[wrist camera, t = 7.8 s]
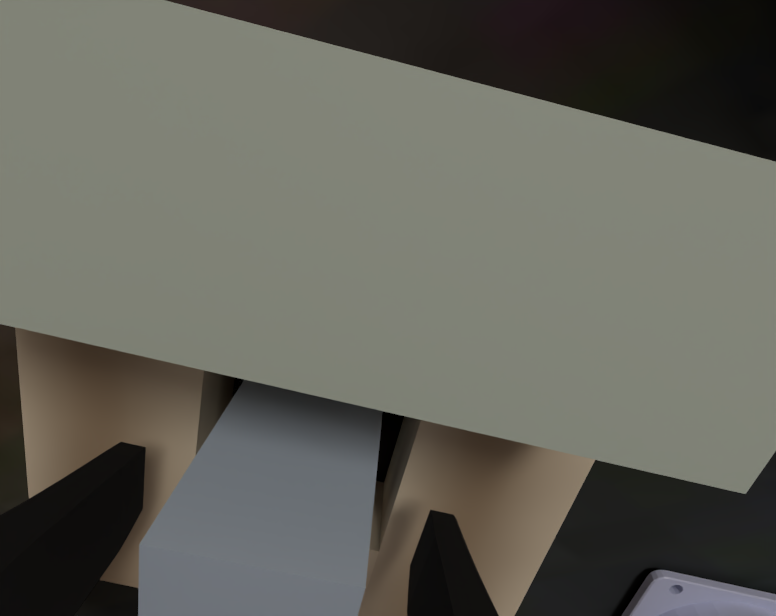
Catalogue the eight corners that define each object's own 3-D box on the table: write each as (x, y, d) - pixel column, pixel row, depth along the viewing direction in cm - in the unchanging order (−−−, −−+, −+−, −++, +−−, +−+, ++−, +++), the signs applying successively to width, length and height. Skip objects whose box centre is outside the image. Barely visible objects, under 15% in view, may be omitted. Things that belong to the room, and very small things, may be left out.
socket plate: (623, 265, 14) (676, 302, 11) (479, 581, 19) (491, 660, 16) (86, 132, 13) (-1, 136, 10) (91, 499, 18) (34, 566, 16)
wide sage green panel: (635, 154, 13) (946, 207, 5) (573, 300, 14) (745, 493, 7) (123, 21, 12) (-330, -131, 5) (121, 189, 14) (-217, 274, 6)
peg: (387, 365, 16) (365, 588, 8) (364, 458, 17) (328, 717, 10) (269, 340, 15) (139, 544, 8) (256, 436, 17) (137, 682, 10)
